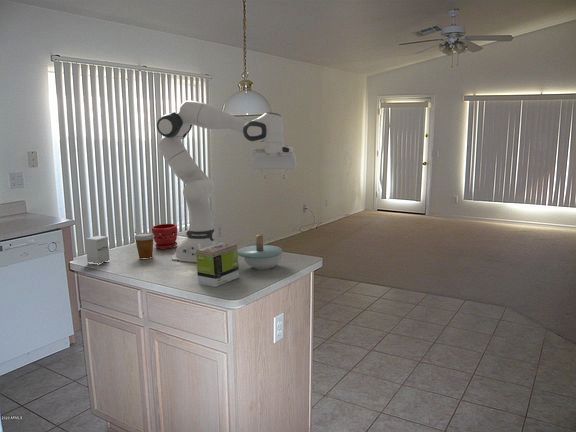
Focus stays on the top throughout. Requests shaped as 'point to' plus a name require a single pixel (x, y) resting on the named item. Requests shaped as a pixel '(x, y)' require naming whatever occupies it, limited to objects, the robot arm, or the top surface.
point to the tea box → (217, 264)
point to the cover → (259, 250)
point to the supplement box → (97, 249)
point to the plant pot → (165, 235)
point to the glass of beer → (144, 244)
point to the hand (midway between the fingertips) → (274, 179)
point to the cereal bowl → (263, 262)
